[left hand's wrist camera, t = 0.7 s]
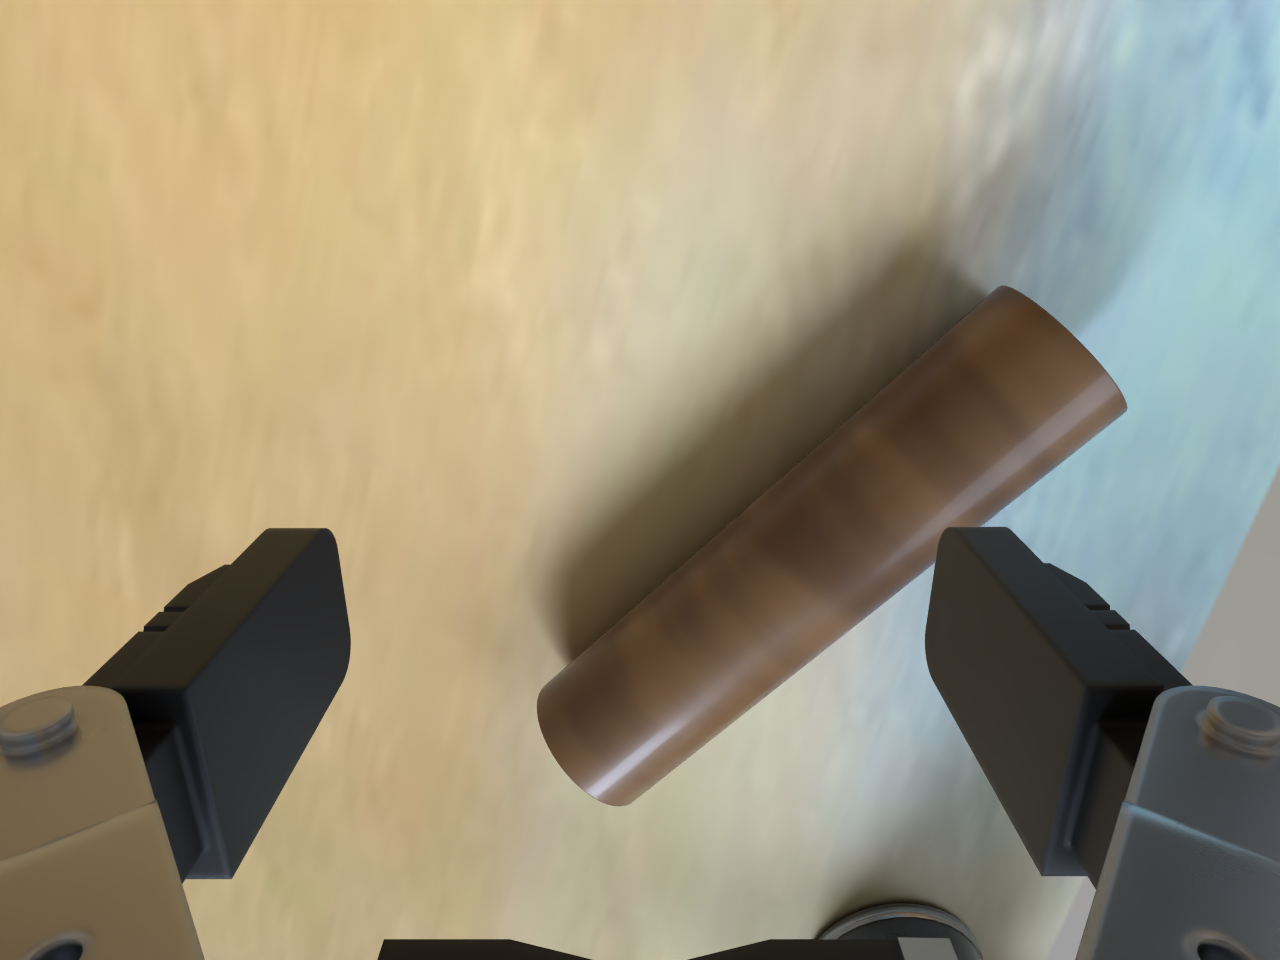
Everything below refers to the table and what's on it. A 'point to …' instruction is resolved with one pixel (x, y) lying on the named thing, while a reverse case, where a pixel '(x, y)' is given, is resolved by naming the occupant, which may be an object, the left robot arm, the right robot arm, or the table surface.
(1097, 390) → the rod
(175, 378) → the table surface
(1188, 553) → the table surface
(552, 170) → the table surface
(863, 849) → the table surface
